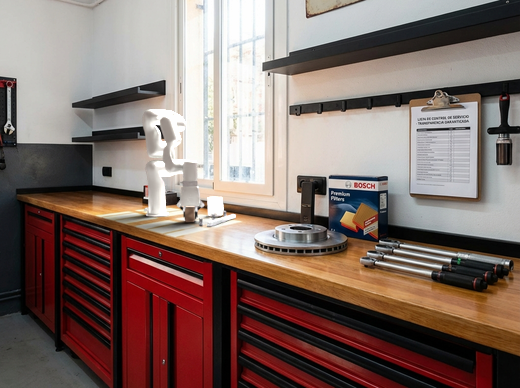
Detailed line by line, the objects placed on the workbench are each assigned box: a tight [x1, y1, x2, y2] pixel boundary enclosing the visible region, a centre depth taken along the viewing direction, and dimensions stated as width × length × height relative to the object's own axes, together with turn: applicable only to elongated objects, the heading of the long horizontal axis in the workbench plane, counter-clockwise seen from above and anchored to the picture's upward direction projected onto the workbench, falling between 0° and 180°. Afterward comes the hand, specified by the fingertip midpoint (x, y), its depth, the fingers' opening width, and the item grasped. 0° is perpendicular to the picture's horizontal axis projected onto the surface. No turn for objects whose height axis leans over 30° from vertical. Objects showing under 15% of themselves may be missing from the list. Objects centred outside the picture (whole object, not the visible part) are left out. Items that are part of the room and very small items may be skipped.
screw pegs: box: [198, 210, 227, 227], centre depth 213 cm, size 2×28×4 cm, turn 158°
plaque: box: [184, 206, 196, 223], centre depth 214 cm, size 4×10×7 cm, turn 3°
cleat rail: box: [206, 213, 237, 227], centre depth 211 cm, size 2×28×2 cm, turn 158°
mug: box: [207, 196, 225, 218], centre depth 231 cm, size 12×8×10 cm
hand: (190, 218), depth 214 cm, fingers closed on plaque, 4 cm apart
